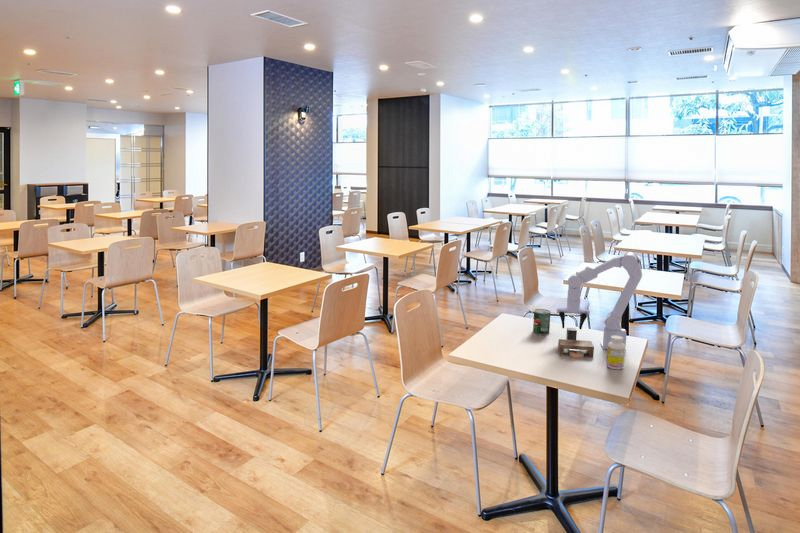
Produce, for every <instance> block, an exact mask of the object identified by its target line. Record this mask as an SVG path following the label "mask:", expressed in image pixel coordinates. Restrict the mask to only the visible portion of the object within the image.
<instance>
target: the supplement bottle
mask: <svg viewBox="0 0 800 533" xmlns="http://www.w3.org/2000/svg"><path fill="white" fill-rule="evenodd" d="M622 342H623V337H621V336H616V335H614V336H611V342H609V343H608V349H607V350H606V366H607V367H608V368H609V369H612V370H622V369H623V368H624V366H625V365H624V364H625V356H626V355H625V354H626V350H625V349H626V347H625V344H624V343H622Z"/></svg>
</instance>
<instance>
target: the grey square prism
mask: <svg viewBox="0 0 800 533" xmlns="http://www.w3.org/2000/svg"><path fill="white" fill-rule="evenodd" d="M565 335H566V338H565V340H577V336H578V331H577V328H576V327H566V334H565ZM567 350H568V353H569V352H570V351H581V352H582V350H576V349H567Z"/></svg>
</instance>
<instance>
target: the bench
mask: <svg viewBox="0 0 800 533" xmlns="http://www.w3.org/2000/svg"><path fill="white" fill-rule="evenodd" d="M557 346H558V347H557V348H558V349H557V350H558V353H559V355H560V356H564V355H565V354H564V353H565V350H568V349H576V350H581V351H586V352H587V355H588V356H589V358H594V354H595V353H594V352H595V346H594V344H593V341H592V340H580V339H576V340H566V339H565V338H564V339H563V338H562V339H561V338H560V339H558V343H557Z"/></svg>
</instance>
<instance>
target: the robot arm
mask: <svg viewBox="0 0 800 533" xmlns="http://www.w3.org/2000/svg"><path fill="white" fill-rule="evenodd" d="M613 268H619V269H620V268H624V269H625V271H626V272H627V275H628V276H629V277H628V279H627V282H626V284H625V285H624V287H623V290H622V291H621V293H620V296H619V297H618V299H617V301H616V303H615V305H614V307H613V308H612V310H611V312H609V313H608V314H607V316H606V318H605V320H604V327H603V338H602V342H600V345H601V347H602V349H603V350H608V343H609V342H611V336H614V335H616V336H621V337H623V342H622V343H624V344H625V351H627V350H626V348H627V347H626V346H627V345H626V344H627V330H626V329H625V328H622V327H621V322H622V321H623V320H622V319H623V318H622V317H623V314H624V313H625V311H626V308H627V307H628V304H629V302H630V301H631V299H632V297H633V295H634V294H635V291H636V289H637V287H638V285H639V284H640V282H641V279H642V277H643V273H642V266H641V260H640V258H639V256H638V255H637V253H635V252H633V251H628V252H627V251H626V253H623V254H622V253H621V254H619V255H617V256H615V257H612V258H610V259H609V260H607V261H605V262H603V263H601V264H599V265H597V266H595V267H594V266H586V267H585V268H584V269H582V270H580V271H579V272H578V271H576V272H575V273H573V274H571V275H570V276H569V277H568V280H567V285H568V288H567V289H568V290H567V298H566V307H557V308H556V313H557V314H559V318H560V320H561V326H562V327H561V328H562V329H565V321H566V320H565V318H566V314H576V315H580V316H579V327H578V329H579V330H582V328H583V325H584V322H586V319H587V317H588V316H589V315H590V312H591V311H590V309H585V308H580V307H581V295H582V294H581V293H582V288H581V287H582V284H584V285H585V284H586V283H588V282H591V281H593V280H594V279H597V278H598V275H599V274H601V273H603V272H606V271H608V270H610V269H613Z"/></svg>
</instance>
